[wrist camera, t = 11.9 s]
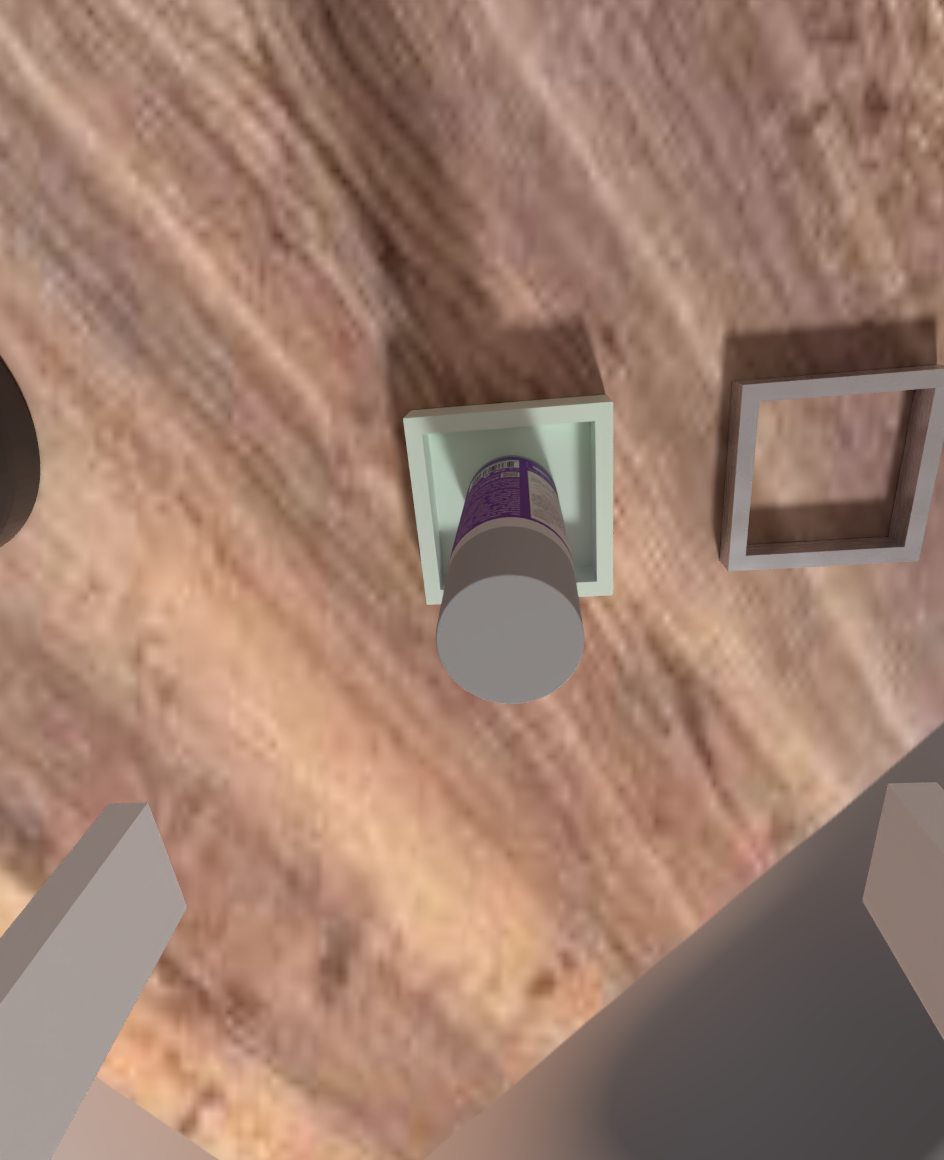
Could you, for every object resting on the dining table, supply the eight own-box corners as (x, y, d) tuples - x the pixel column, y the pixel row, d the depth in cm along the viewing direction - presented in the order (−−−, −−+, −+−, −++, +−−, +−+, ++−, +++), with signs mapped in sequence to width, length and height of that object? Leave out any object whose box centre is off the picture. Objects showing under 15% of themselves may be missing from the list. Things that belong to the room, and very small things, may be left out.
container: (460, 533, 33) (421, 693, 20) (474, 446, 32) (443, 556, 18) (547, 549, 33) (569, 719, 20) (566, 463, 32) (606, 585, 18)
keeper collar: (719, 560, 34) (728, 571, 32) (732, 381, 30) (742, 385, 29) (901, 550, 33) (918, 560, 31) (937, 364, 29) (958, 367, 28)
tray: (432, 585, 35) (426, 604, 33) (411, 410, 32) (402, 418, 29) (606, 575, 34) (612, 595, 32) (605, 394, 31) (613, 401, 28)
